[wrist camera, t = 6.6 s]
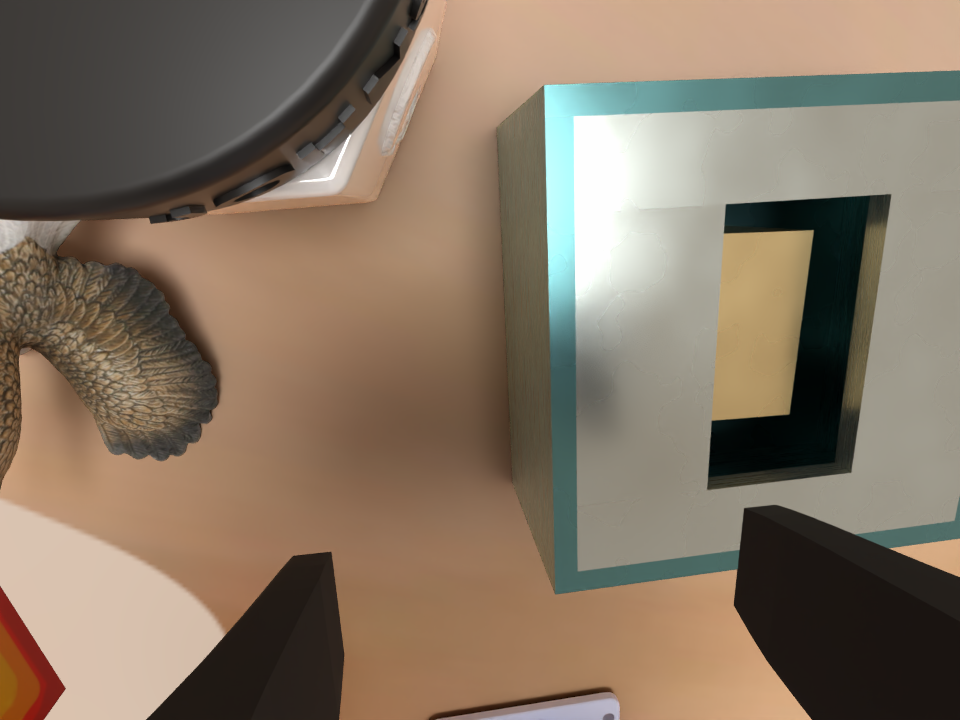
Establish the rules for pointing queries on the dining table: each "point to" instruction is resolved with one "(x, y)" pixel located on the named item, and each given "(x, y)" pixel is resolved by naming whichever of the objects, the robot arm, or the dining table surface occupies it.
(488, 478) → the dining table surface
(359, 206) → the dining table surface
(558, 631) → the dining table surface
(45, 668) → the baking soda box
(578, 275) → the box
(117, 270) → the eagle figurine
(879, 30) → the dining table surface
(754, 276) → the block
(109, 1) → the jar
